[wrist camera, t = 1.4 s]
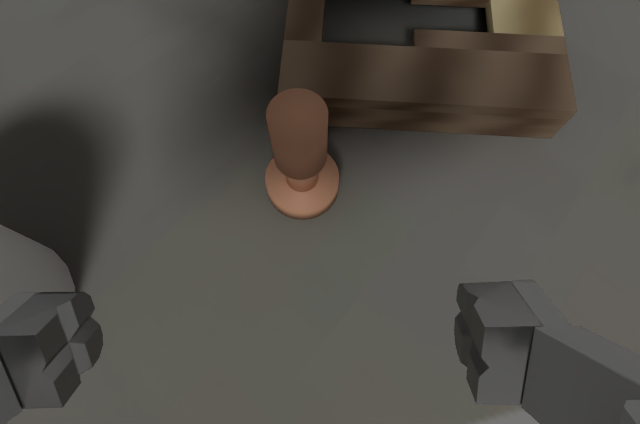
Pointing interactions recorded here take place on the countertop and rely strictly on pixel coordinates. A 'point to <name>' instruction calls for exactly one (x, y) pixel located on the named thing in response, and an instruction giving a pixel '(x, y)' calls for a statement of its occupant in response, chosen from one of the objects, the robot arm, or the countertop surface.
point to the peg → (300, 155)
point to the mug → (30, 267)
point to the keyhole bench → (440, 72)
